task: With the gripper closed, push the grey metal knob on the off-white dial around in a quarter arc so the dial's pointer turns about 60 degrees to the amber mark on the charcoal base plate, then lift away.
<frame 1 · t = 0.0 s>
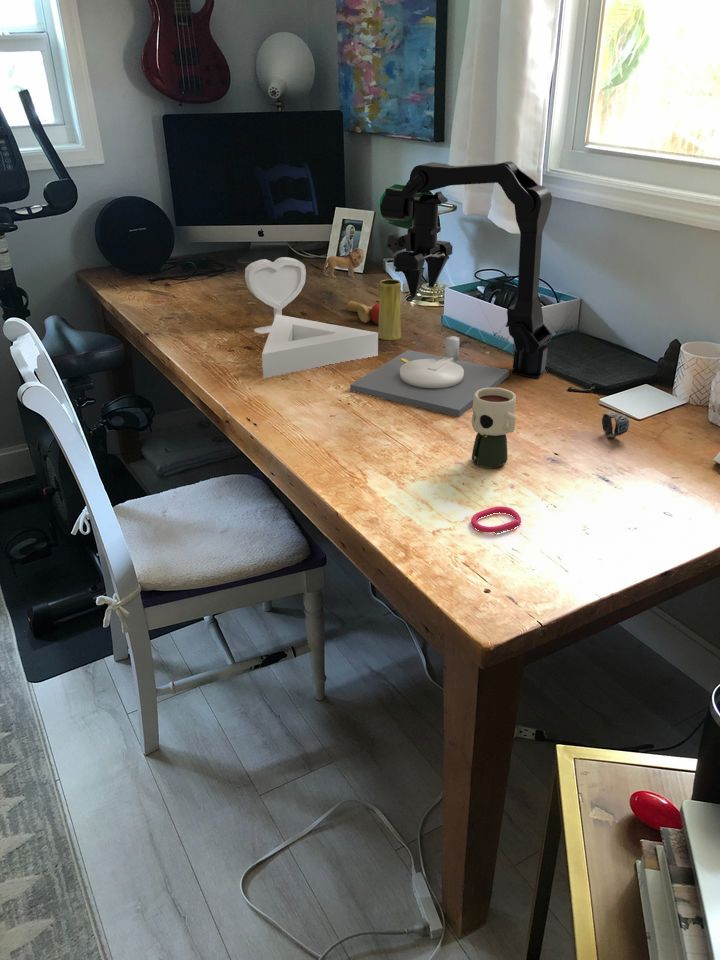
hand: (422, 291, 180), 15 cm above the table, tool pointing down, fingers open, 9 cm apart
lion figurine: (343, 277, 251), on the table
character mug: (488, 463, 136), on the table
dial: (436, 360, 168), point 5 cm above the table, hinge at 0.0°
dial plate: (431, 383, 168), on the table
triangle block: (296, 364, 181), on the table
kendama: (368, 319, 211), on the table
fitness band: (495, 525, 118), on the table
vase: (389, 337, 196), on the table
wristwatch: (613, 438, 144), on the table
heart sculpture: (278, 328, 203), on the table
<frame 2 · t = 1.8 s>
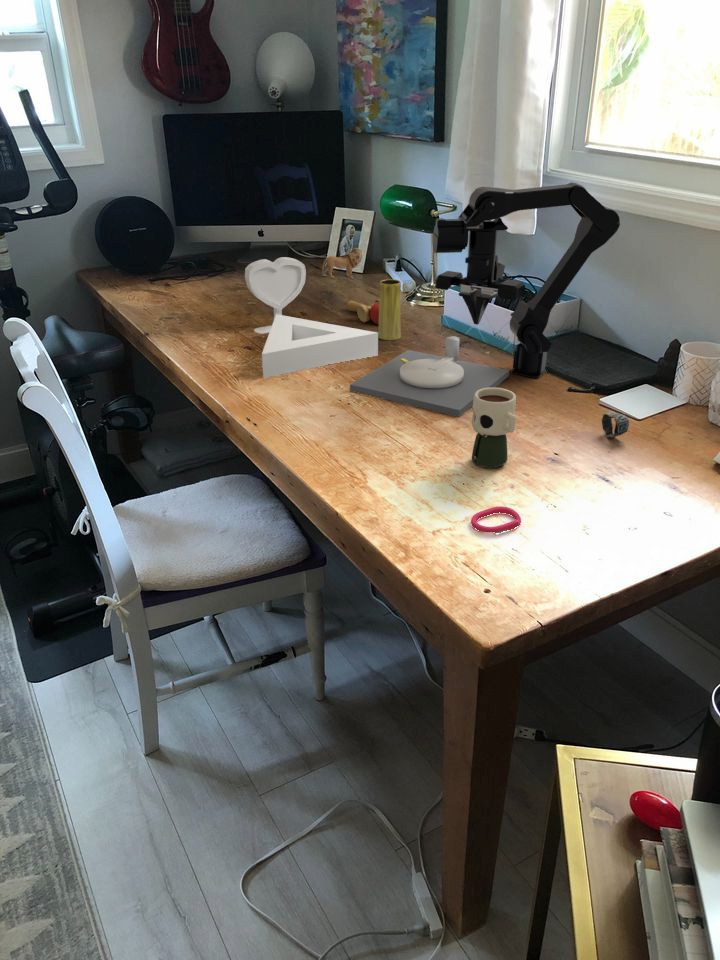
hand: (476, 323, 167), 12 cm above the table, tool pointing down, fingers closed
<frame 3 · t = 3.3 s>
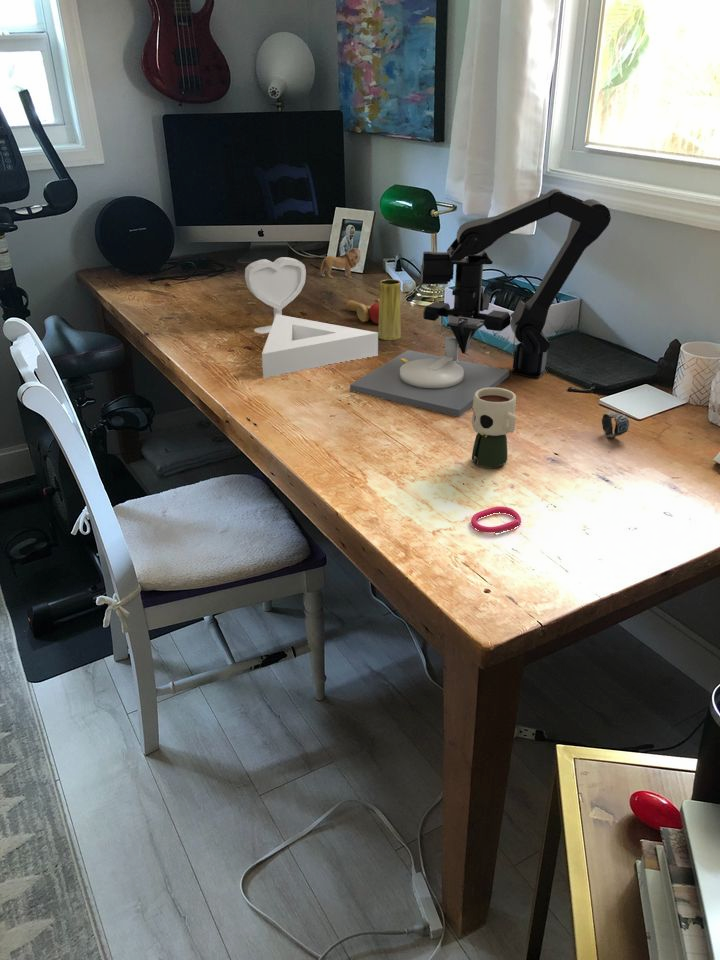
hand: (464, 353, 172), 5 cm above the table, tool pointing down, fingers closed
dial: (436, 360, 168), point 5 cm above the table, hinge at 1.1°, touching gripper
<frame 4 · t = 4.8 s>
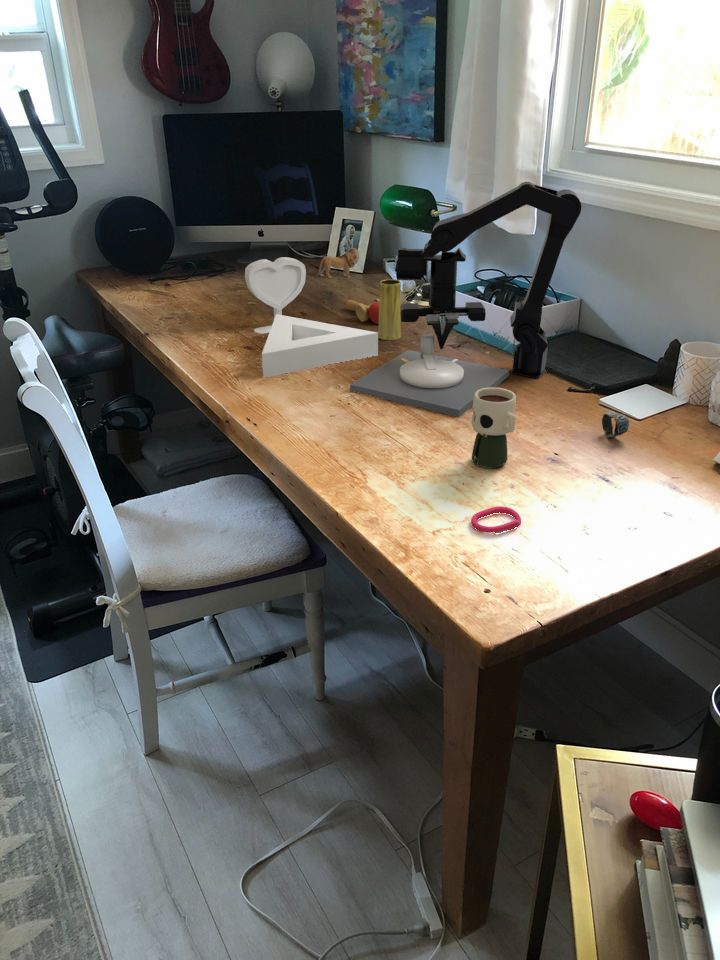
hand: (441, 348, 175), 5 cm above the table, tool pointing down, fingers closed
dial: (430, 360, 168), point 5 cm above the table, hinge at 33.6°, touching gripper
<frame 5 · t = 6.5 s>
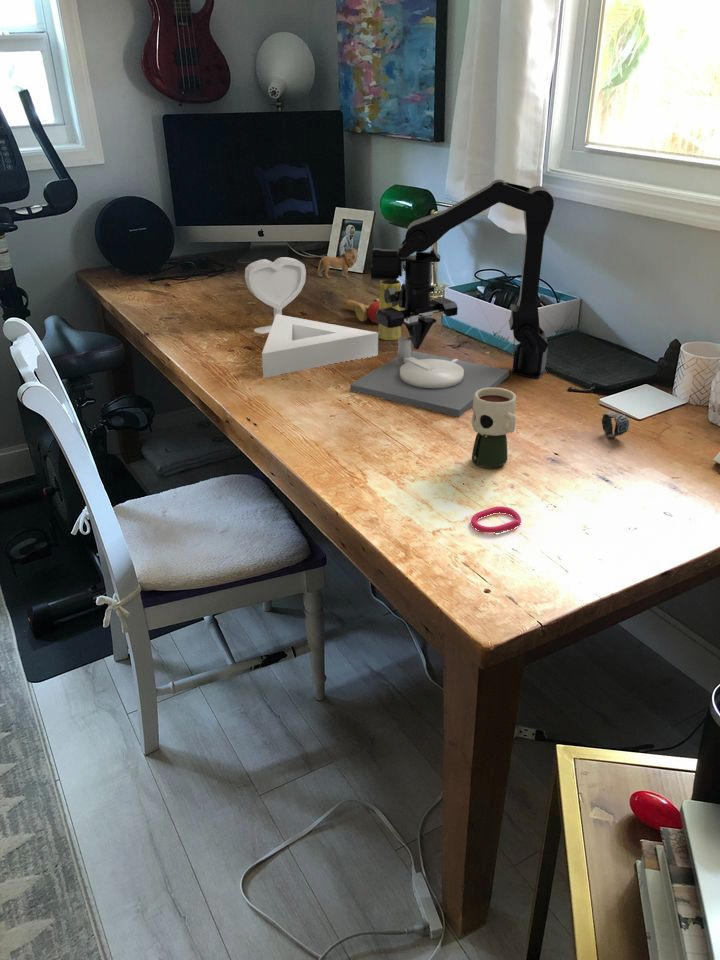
hand: (416, 348, 175), 5 cm above the table, tool pointing down, fingers closed
dial: (425, 360, 168), point 5 cm above the table, hinge at 66.0°, touching gripper
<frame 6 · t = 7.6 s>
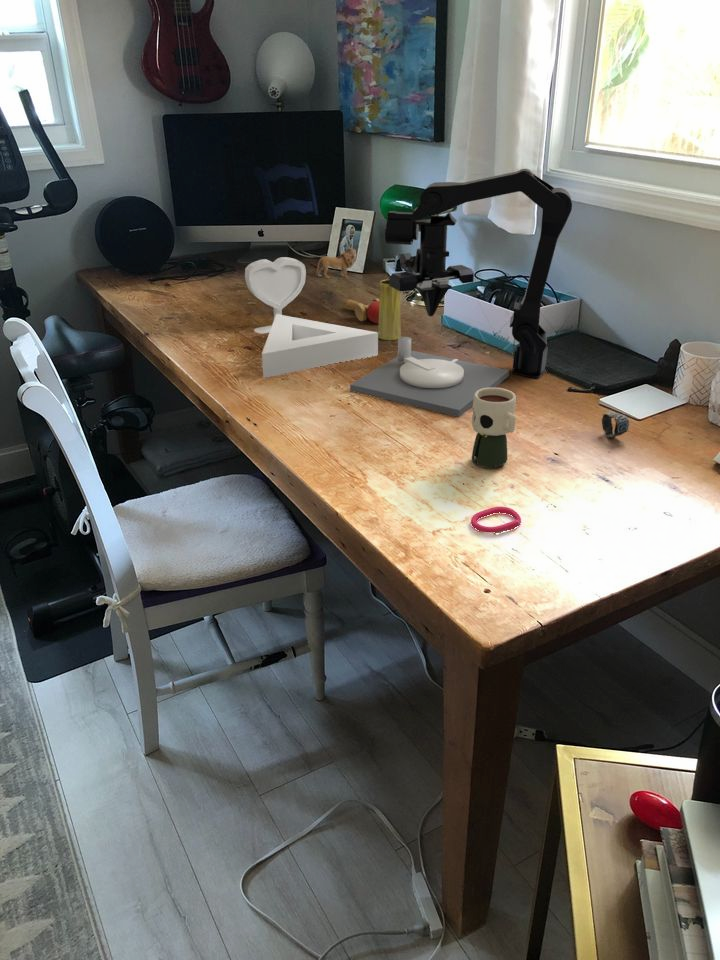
hand: (430, 315, 173), 12 cm above the table, tool pointing down, fingers closed
dial: (425, 360, 168), point 5 cm above the table, hinge at 66.2°
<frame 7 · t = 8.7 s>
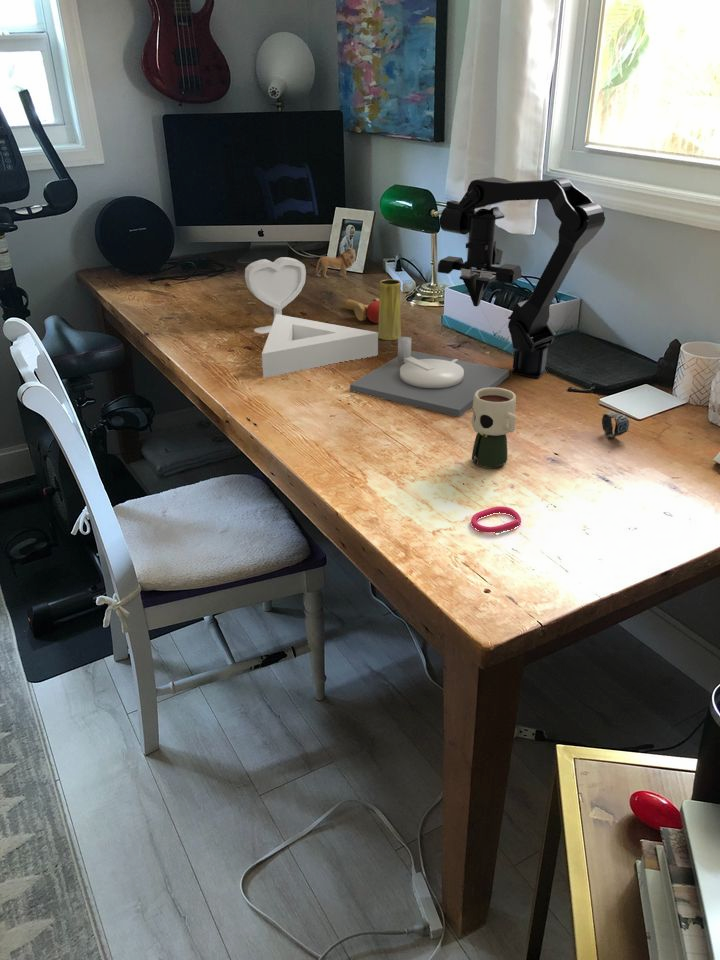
hand: (476, 305, 179), 12 cm above the table, tool pointing down, fingers closed
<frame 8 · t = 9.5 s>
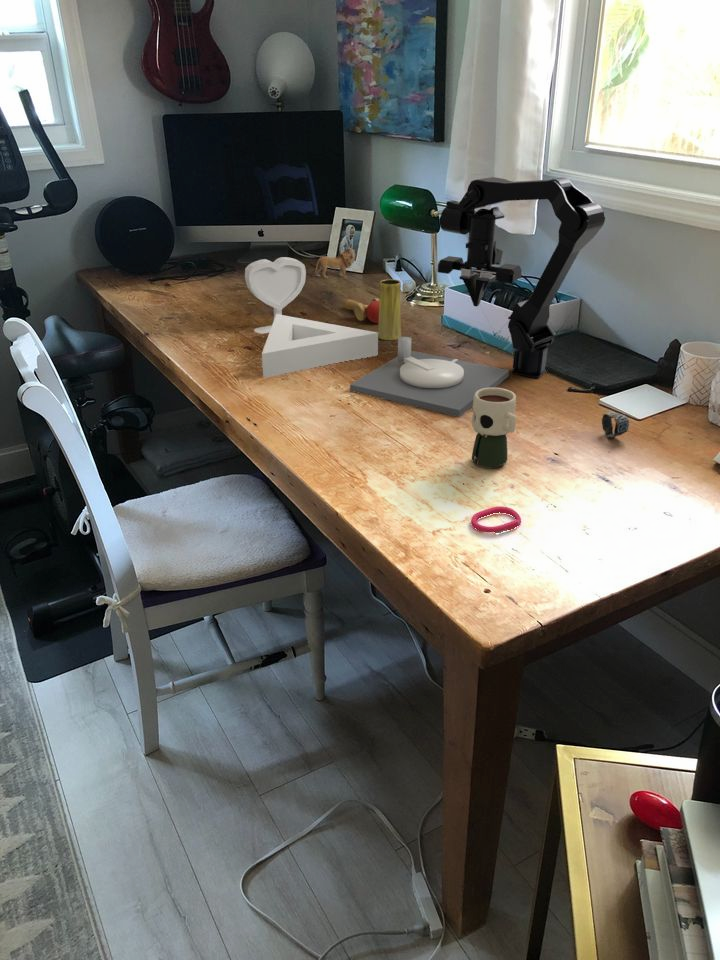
hand: (476, 305, 179), 12 cm above the table, tool pointing down, fingers closed
at the end: dial at +66° (first picture: +0°); vase moved 0.2 cm from its start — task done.
